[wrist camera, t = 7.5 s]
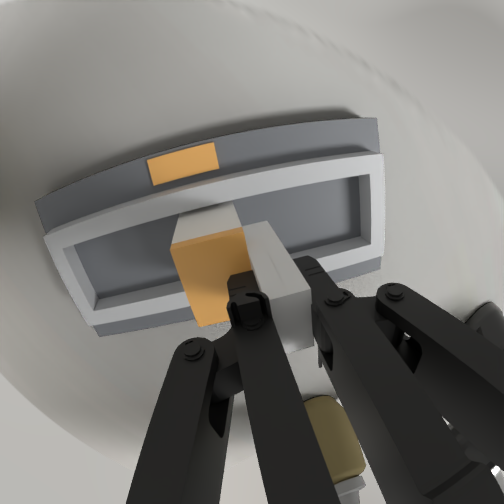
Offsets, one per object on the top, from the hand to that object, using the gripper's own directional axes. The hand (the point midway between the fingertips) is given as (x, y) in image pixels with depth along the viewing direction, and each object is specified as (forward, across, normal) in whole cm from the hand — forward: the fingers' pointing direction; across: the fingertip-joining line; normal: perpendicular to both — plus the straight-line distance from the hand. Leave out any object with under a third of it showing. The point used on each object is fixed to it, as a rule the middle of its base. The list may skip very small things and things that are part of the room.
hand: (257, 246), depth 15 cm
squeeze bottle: (+5, -4, +28) cm, 29 cm away
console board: (+5, +2, 0) cm, 5 cm away
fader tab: (+3, +2, 0) cm, 4 cm away
